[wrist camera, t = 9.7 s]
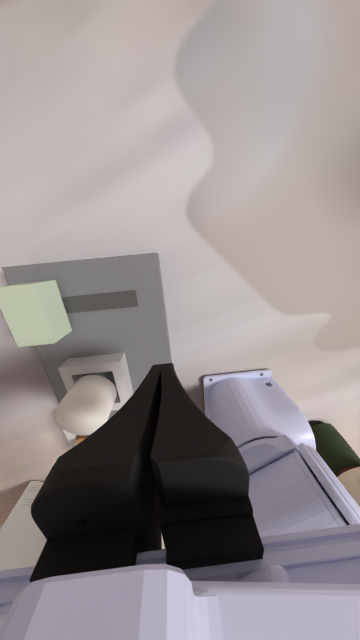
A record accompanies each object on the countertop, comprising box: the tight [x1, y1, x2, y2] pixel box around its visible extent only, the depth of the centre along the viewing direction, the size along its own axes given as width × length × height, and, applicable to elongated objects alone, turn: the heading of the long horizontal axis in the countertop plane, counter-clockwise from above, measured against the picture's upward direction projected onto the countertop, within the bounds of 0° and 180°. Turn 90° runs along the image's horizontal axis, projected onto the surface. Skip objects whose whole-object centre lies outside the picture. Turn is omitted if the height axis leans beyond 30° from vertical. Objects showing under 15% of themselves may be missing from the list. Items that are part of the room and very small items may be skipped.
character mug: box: [310, 423, 360, 507], centre depth 22 cm, size 11×7×13 cm, turn 26°
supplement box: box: [0, 481, 47, 571], centre depth 24 cm, size 7×7×13 cm
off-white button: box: [54, 375, 117, 435], centre depth 16 cm, size 4×4×3 cm
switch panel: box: [2, 253, 172, 449], centre depth 20 cm, size 14×26×4 cm, turn 5°
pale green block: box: [0, 280, 72, 347], centre depth 15 cm, size 3×5×3 cm, turn 5°
